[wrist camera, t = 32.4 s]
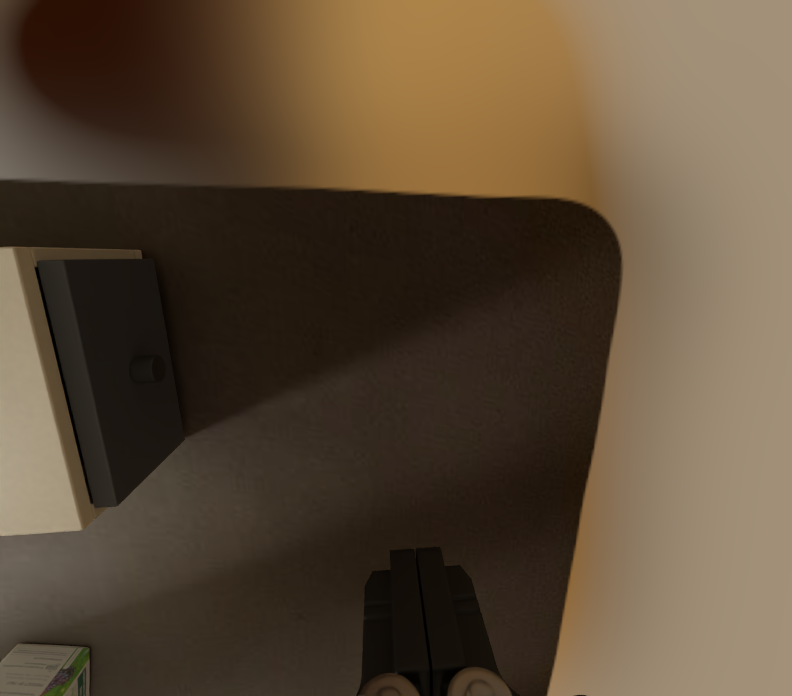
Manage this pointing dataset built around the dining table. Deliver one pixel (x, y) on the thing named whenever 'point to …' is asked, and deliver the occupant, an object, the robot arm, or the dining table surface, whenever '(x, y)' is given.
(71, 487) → the cream drawer box
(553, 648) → the dining table surface
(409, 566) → the robot arm
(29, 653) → the syrup box
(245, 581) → the dining table surface
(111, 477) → the two-tone hollow box
